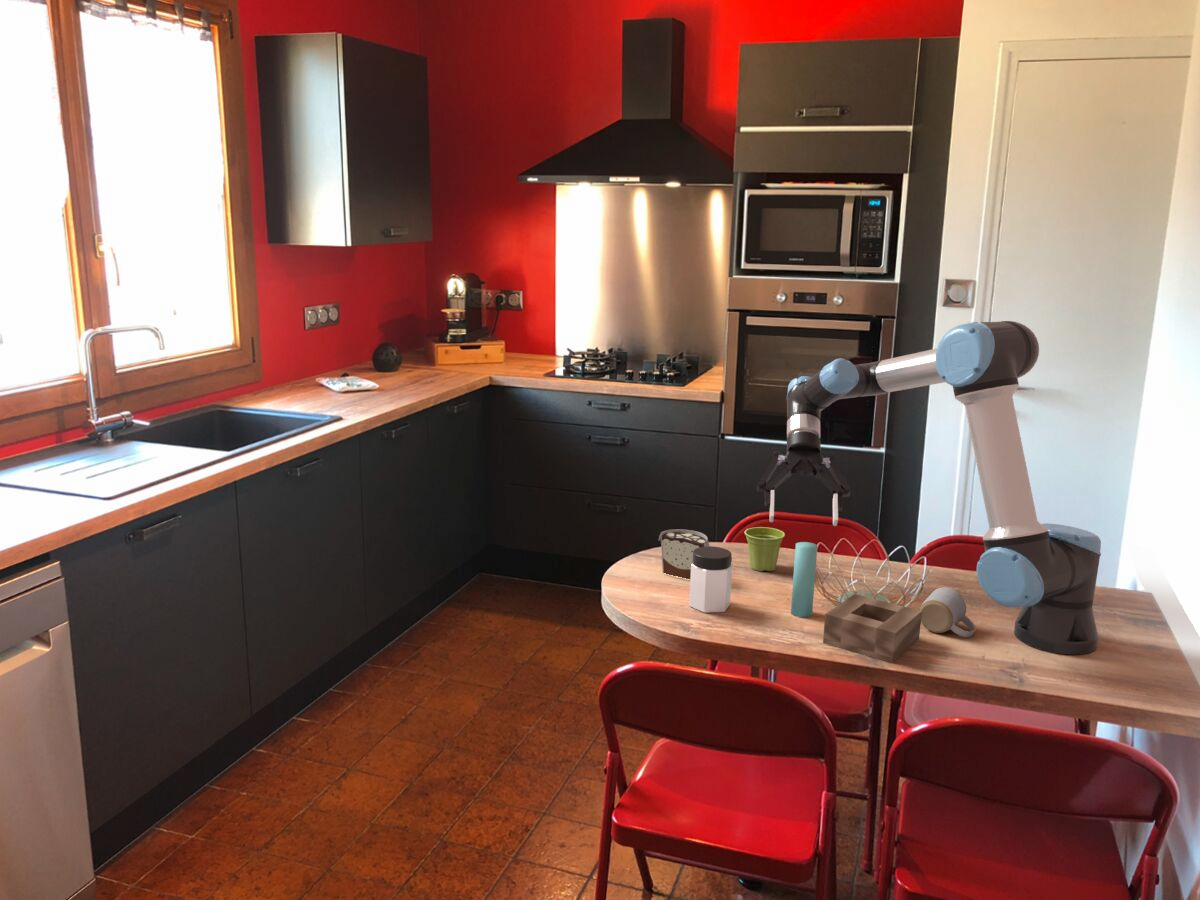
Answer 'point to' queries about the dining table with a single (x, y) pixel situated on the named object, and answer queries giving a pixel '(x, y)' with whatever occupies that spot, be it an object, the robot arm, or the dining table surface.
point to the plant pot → (763, 547)
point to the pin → (804, 579)
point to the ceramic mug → (946, 612)
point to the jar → (710, 579)
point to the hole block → (872, 627)
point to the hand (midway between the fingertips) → (803, 521)
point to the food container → (680, 550)
